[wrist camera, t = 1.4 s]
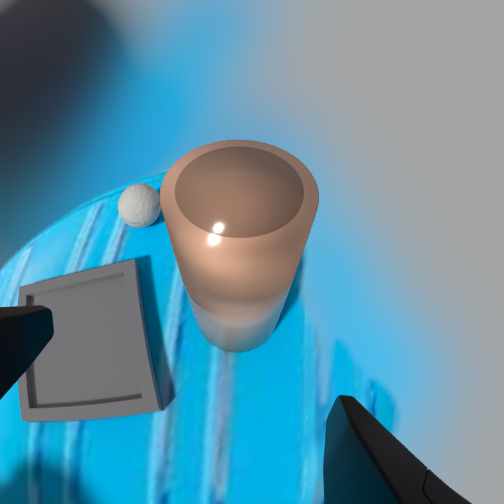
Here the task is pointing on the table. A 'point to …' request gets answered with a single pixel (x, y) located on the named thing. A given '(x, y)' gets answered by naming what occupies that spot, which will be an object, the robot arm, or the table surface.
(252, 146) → the terracotta cup
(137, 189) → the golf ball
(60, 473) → the table surface
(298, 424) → the table surface
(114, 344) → the charcoal tray
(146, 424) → the table surface
